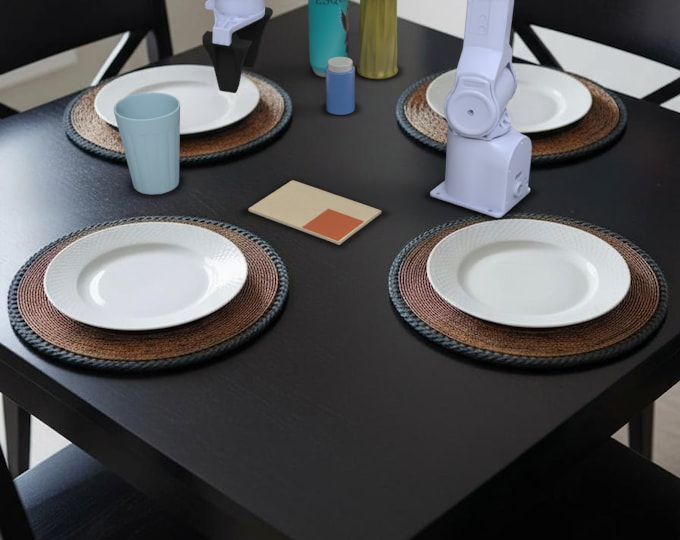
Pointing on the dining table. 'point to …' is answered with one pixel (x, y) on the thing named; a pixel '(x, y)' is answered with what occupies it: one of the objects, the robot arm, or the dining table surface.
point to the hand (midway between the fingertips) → (237, 77)
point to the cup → (150, 140)
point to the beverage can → (327, 32)
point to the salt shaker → (340, 86)
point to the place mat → (315, 211)
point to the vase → (378, 39)
